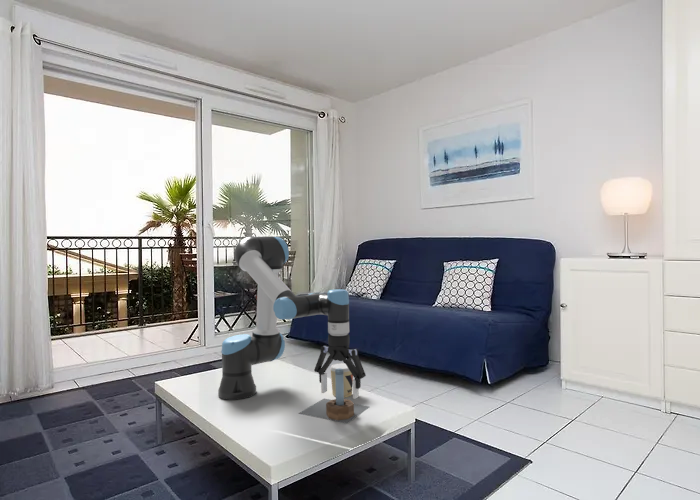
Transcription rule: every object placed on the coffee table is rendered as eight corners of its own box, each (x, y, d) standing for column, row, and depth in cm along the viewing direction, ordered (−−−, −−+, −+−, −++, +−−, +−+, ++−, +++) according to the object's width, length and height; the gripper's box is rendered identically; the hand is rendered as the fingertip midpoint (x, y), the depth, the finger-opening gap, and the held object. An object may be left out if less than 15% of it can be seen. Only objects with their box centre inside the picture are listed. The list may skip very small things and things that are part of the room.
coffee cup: (351, 400, 170) (351, 369, 170) (328, 399, 172) (327, 368, 172) (356, 392, 180) (355, 363, 179) (333, 391, 181) (333, 362, 181)
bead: (322, 416, 153) (322, 405, 153) (335, 408, 161) (335, 397, 161) (344, 421, 148) (344, 409, 148) (357, 412, 156) (357, 401, 156)
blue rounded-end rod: (334, 415, 154) (333, 370, 154) (338, 412, 156) (337, 367, 156) (341, 416, 152) (340, 371, 152) (345, 414, 155) (344, 368, 155)
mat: (298, 414, 156) (298, 413, 156) (323, 399, 171) (323, 398, 171) (347, 425, 147) (347, 423, 147) (369, 408, 162) (369, 406, 162)
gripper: (304, 332, 157) (305, 392, 157) (364, 338, 145) (365, 403, 145) (315, 329, 163) (316, 386, 164) (374, 334, 152) (375, 396, 152)
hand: (339, 394), depth 154 cm, fingers open, 12 cm apart
